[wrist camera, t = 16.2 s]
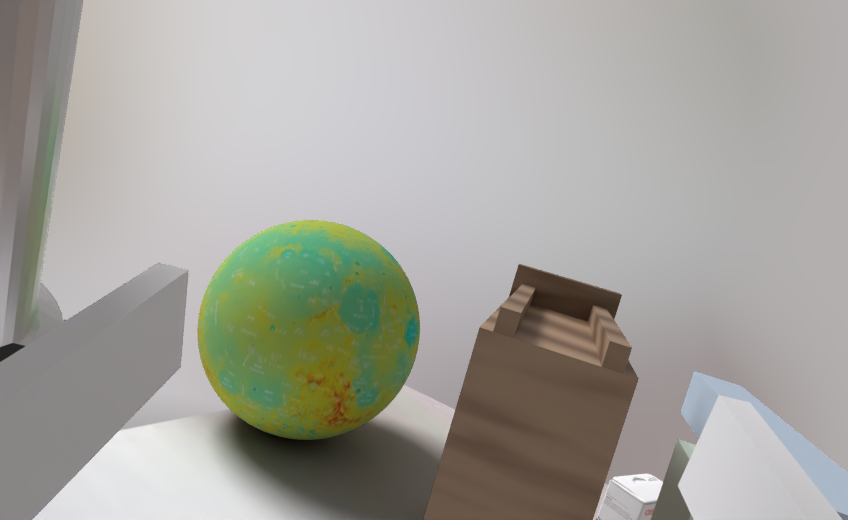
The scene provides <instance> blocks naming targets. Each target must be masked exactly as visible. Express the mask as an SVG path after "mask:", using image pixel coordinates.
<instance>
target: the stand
mask: <svg viewBox="0 0 848 520" xmlns="http://www.w3.org/2000/svg"><path fill="white" fill-rule="evenodd" d="M621 296H622V295H621V294H619V293H616V292H613V291H610V290H606V289H603V288H599V287H596V286H593V285H589V284H586V283H582V282H579V281H575V280H572V279H569V278H565V277H562V276H559V275H555V274H552V273H549V272H545V271H542V270H538V269H535V268H531V267H528V266H525V265H521V264H519V265H518V269H517V272H516V276H515V279H514V282H513V285H512V289H511V292H510V296H509V298H508V299H507V300H506V301H505V302H504V303H503V304H502V305H501V306H500V307H499V308H498V309H497V310H496V311H495V312H494V313H493V314H492V315H491V316H490V317H489V318H488V319H487V320H486V322H484V323H483V325H482V326H481V327H480V328H479V332H478V335H477V338H476V342H475V345H474V349H473V352H472V355H471V359H470V363H469V365H468V369H467V372H466V376H465V379H464V383H463V386H462V389H461V393H460V396H459V399H458V403H457V407H456V410H455V413H454V416H453V420H452V423H451V427H450V430H449V433H448V437H447V440H446V444H445V447H444V450H443V454H442V457H441V461H440V464H439V467H438V471H437V474H436V478H435V481H434V484H433V488H432V491H431V495H430V498H429V501H428V505H427V508H426V512H425V515H424V518H423V520H593V517H594V514H595V511H596V508H597V505H598V502H599V499H600V496H601V493H602V489H603V486H604V483H605V480H606V477H607V474H608V471H609V468H610V465H611V462H612V459H613V456H614V453H615V449H616V446H617V443H618V440H619V437H620V434H621V431H622V428H623V425H624V422H625V419H626V415H627V413H628V409H629V406H630V403H631V400H632V397H633V394H634V391H635V388H636V385H637V382H638V377H637V375H636V373H635V371H634V370H633V368H632V366H631V364H630V363H629V360H628V358H629V355H630V352H631V349H632V347H631V346H630V344H629V343H628V341H627V340H626V338H625V336H624V335H623V333H622V332H621V330H620V329H619V327H618V325H617V324H616V323H615V321H614V318H615V315H616V312H617V309H618V305H619V302H620V299H621Z"/></svg>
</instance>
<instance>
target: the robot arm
mask: <svg viewBox="0 0 848 520" xmlns="http://www.w3.org/2000/svg"><path fill="white" fill-rule="evenodd" d="M82 5H83V0H0V520H32V519H33V518H34V517H35V516H36V515H37V514H38V513H39V512H40V511H41V510H42V509H43V508H44V507H45V506H46V505H47V504H48V503H49V502H50V501H51V500H52V499H53V498H54V497H55V496H56V495H57V494H58V493H59V492H60V491H61V490H62V489H63V488H64V486H65V485H66V484H67V483H68V482H69V481H70V480H71V479H72V478H73V477H74V476H75V475H76V474H77V473H78V472H79V471H80V470H81V469H82V468H83V467H84V466H85V465H86V464H87V463H88V462H89V461H90V460H91V459H92V458H93V457H94V456H95V455H96V454H97V453H98V452H99V450H100V449H101V448H102V447H103V446H104V445H105V444H106V443H107V442H108V441H109V440H110V439H111V438H112V437H113V436H114V435H115V434H116V433H117V432H118V431H119V430H120V429H121V428H122V427H123V426H124V425H125V424H126V423H127V422H128V421H129V420H130V419H131V417H133V416H134V414H135V413H136V412H137V411H138V410H139V409H140V408H141V407H142V406H143V405H144V404H145V403H146V402H147V401H148V400H149V399H150V398H151V397H152V396H153V395H154V394H155V393H156V392H157V391H158V390H159V389H160V388H161V387H162V386H163V385H164V384H165V383H166V381H167V380H169V378H170V377H171V376H172V375H173V374H174V373H175V372H176V371H177V370H178V369H179V368H180V367H181V357H182V345H183V333H184V320H185V308H186V295H187V283H188V271H189V270H187V269H183V268H178V267H175V266H170V265H166V264H161V263H157V264H155V265H154V266H152V267H151V268H149V269H147V270H146V271H144V272H143V273H141V274H140V275H138V276H136V277H135V278H133V279H131V280H130V281H128V282H127V283H125V284H123V285H122V286H120V287H119V288H117V289H115V290H114V291H112V292H111V293H109V294H108V295H106V296H104V297H103V298H101V299H100V300H98V301H97V302H95V303H93V304H92V305H90V306H89V307H87V308H85V309H84V310H82V311H81V312H79V313H78V314H76V315H74V316H73V317H71V318H70V319H68V320H63V319H62V313H61V310H60V308H59V306H58V303H57V301H56V300H55V298H54V297H53V295H52V294H51V293H50V291H49V290H48V289H47V288H46V287H45V286H44V285H43V284H42V283H41V276H42V269H43V262H44V256H45V249H46V243H47V236H48V229H49V223H50V216H51V210H52V203H53V197H54V190H55V183H56V177H57V170H58V163H59V157H60V150H61V144H62V137H63V131H64V124H65V117H66V111H67V104H68V97H69V91H70V84H71V77H72V71H73V64H74V58H75V51H76V44H77V38H78V32H79V25H80V18H81V12H82ZM678 487H679V489H680V492H681V494H682V496H683V498H684V500H685V502H686V505H687V507H688V509H689V511H690V513H691V515H692V517H693V520H843V519H842V518H841V517H840V516H839V514H838V513H837V512H836V510H835V509H834V508H833V507H832V505H831V504H830V503H829V502H828V500H827V499H826V498H825V497H824V495H823V494H822V493H821V491H820V490H819V489H818V488H817V486H816V485H815V484H814V483H813V481H812V480H811V479H810V478H809V476H808V475H807V474H806V472H805V471H804V470H803V469H802V467H801V466H800V465H799V464H798V462H797V461H796V460H795V459H794V457H793V456H792V455H791V453H790V452H789V451H788V450H787V448H786V447H785V446H784V445H783V443H782V442H781V441H780V440H779V438H778V437H777V436H776V434H775V433H774V432H773V431H772V429H771V428H770V427H769V426H768V424H767V423H766V422H765V421H764V419H763V418H762V417H761V415H760V414H759V413H758V412H757V410H756V409H755V408H754V407H753V405H752V404H751V403H750V402H746V401H742V400H738V399H733V398H729V397H725V396H721V395H719V396H718V398H717V400H716V402H715V405H714V407H713V409H712V411H711V413H710V416H709V418H708V420H707V422H706V424H705V427H704V429H703V431H702V433H701V435H700V438H699V440H698V442H697V444H696V446H695V449H694V451H693V453H692V455H691V458H690V460H689V462H688V464H687V466H686V469H685V471H684V473H683V475H682V477H681V480H680V482H679V484H678Z"/></svg>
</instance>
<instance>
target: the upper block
mask: <svg viewBox="0 0 848 520" xmlns="http://www.w3.org/2000/svg"><path fill="white" fill-rule="evenodd" d="M695 446H696V445H694V444H691V443H688V442H685V441H682V440H679V439H678V440H677V443H676V446H675V449H674V452H673V455H672V458H671V460H670V463H669V466H668V470H667V473H666V475H665V479H664V481H663V484H662V487H661V490H660V493H659V496H658V499H657V502H656V505H655V508H654V511H653V514H652V517H651V520H693V517H692V515H691V513H690V511H689V509H688V507H687V505H686V502H685V500H684V498H683V496H682V494H681V492H680V489H679V487H678V484H679V482H680V480H681V477H682V475H683V473H684V471H685V469H686V466H687V464H688V462H689V460H690V458H691V455H692V453H693V451H694V449H695Z"/></svg>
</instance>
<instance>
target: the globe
mask: <svg viewBox="0 0 848 520" xmlns="http://www.w3.org/2000/svg"><path fill="white" fill-rule="evenodd" d="M419 334H420V320H419V311H418V305H417V301H416V297H415V294H414V291H413V289H412V286H411V284H410V282H409V280H408V278H407V276H406V274H405V272H404V271H403V269H402V268H401V266H400V265H399V264H398V262H397V261H396V260H395V259H394V257H393V256H392V255H391V254H390V253H389V252H388V251H387V250H386V249H385V248H384V247H383V246H381V245H380V244H379V243H378V242H376V241H375V240H373V239H372V238H370V237H369V236H367V235H366V234H364V233H362V232H360V231H358V230H355V229H353V228H351V227H348V226H345V225H342V224H338V223H333V222H327V221H318V220H304V221H295V222H289V223H285V224H281V225H278V226H274V227H271V228H269V229H266V230H264V231H262V232H260V233H258V234H256V235H254V236H253V237H251V238H250V239H248V240H246V241H245V242H244V243H242V244H241V245H240V246H239V247H237V248H236V249H235V250H234V251H233V252H232V253H231V254H230V255H229V256H228V257H227V258H226V259H225V260H224V262H223V263H222V264H221V265H220V267H219V268H218V270H217V271H216V273H215V274H214V276H213V277H212V279H211V281H210V283H209V285H208V287H207V290H206V292H205V294H204V297H203V300H202V304H201V308H200V313H199V319H198V346H199V352H200V357H201V361H202V364H203V367H204V370H205V373H206V375H207V377H208V380H209V381H210V383H211V385H212V387H213V389H214V390H215V392H216V393H217V395H218V396H219V397H220V399H221V400H222V401H223V402H224V403H225V404H226V406H227V407H228V408H229V409H230V410H231V411H232V412H234V413H235V414H236V415H237V416H238V417H240V418H241V419H242V420H244V421H245V422H247V423H248V424H250V425H252V426H253V427H255V428H257V429H259V430H261V431H264V432H266V433H269V434H272V435H275V436H279V437H283V438H289V439H297V440H316V439H324V438H329V437H334V436H337V435H341V434H344V433H346V432H349V431H351V430H354V429H356V428H358V427H360V426H361V425H363V424H365V423H367V422H368V421H370V420H371V419H373V418H374V417H375V416H377V415H378V414H379V413H380V412H381V411H382V410H384V409H385V408H386V407H387V406H388V405H389V404H390V402H391V401H392V400H393V399H394V398H395V397H396V395H397V394H398V393H399V391H400V390H401V388H402V387H403V385H404V383H405V382H406V380H407V378H408V376H409V374H410V372H411V369H412V367H413V364H414V361H415V358H416V354H417V350H418V344H419Z"/></svg>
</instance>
